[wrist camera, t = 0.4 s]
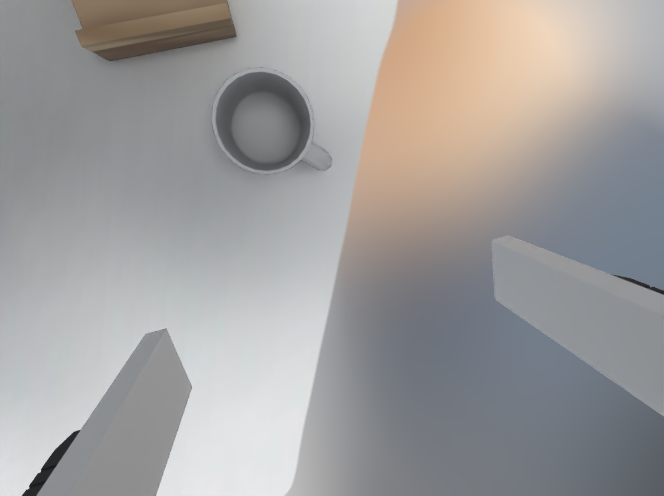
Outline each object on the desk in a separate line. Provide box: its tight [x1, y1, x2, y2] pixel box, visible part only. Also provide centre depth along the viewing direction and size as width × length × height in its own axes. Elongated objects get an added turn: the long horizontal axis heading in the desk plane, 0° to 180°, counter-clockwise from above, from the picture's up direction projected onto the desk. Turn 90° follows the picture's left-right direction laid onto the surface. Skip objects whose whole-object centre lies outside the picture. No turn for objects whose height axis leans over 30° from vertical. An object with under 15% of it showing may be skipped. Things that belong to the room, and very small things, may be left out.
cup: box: [212, 67, 332, 175], centre depth 28 cm, size 7×10×9 cm
